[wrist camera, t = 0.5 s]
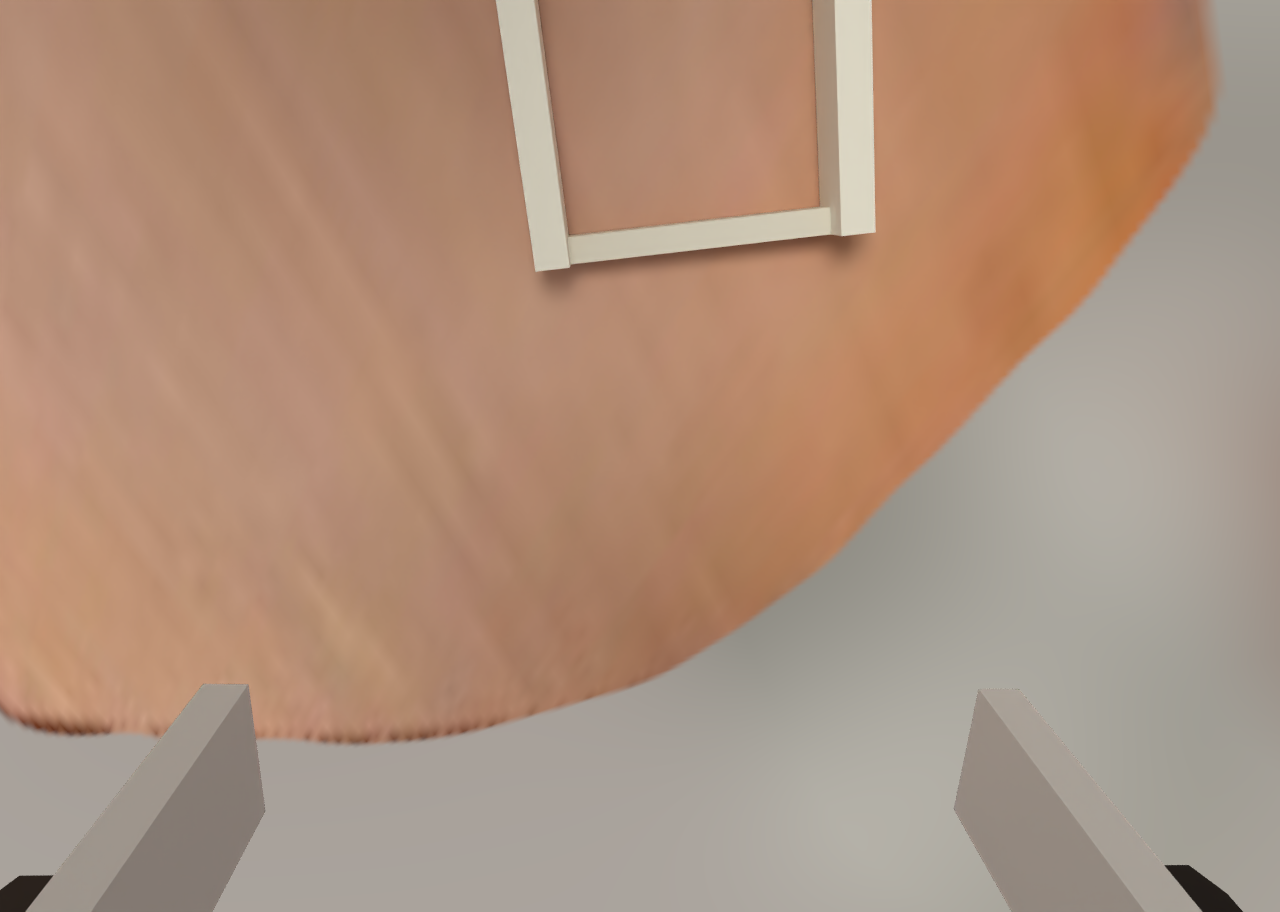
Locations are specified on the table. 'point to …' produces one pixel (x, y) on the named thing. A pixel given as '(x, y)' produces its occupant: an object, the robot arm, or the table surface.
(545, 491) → the table surface
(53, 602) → the table surface
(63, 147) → the table surface
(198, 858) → the robot arm
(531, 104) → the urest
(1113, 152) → the table surface
